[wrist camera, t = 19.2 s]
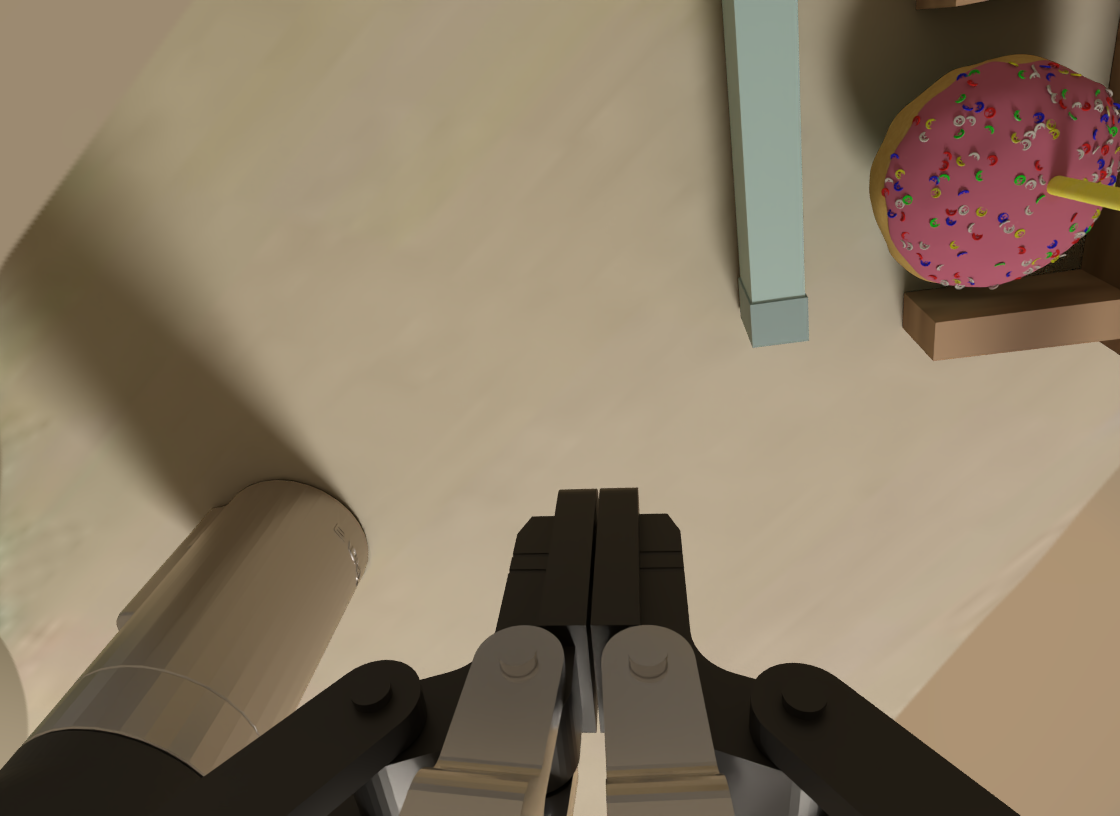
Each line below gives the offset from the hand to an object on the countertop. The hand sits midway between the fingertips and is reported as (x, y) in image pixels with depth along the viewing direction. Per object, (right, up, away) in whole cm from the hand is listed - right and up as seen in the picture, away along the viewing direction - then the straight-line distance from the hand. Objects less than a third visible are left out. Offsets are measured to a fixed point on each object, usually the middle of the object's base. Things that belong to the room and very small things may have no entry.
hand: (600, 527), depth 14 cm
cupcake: (+16, +13, +18) cm, 27 cm away
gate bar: (+8, +13, +18) cm, 24 cm away
